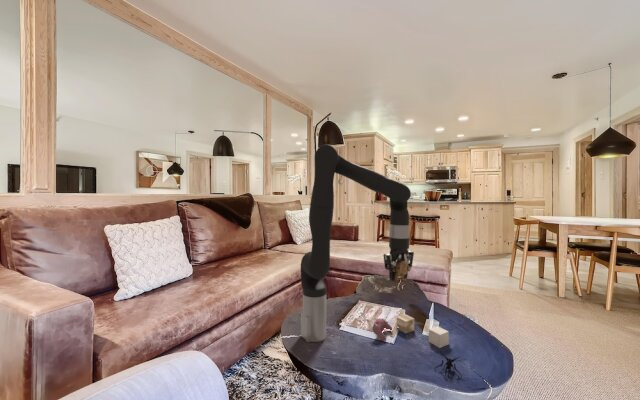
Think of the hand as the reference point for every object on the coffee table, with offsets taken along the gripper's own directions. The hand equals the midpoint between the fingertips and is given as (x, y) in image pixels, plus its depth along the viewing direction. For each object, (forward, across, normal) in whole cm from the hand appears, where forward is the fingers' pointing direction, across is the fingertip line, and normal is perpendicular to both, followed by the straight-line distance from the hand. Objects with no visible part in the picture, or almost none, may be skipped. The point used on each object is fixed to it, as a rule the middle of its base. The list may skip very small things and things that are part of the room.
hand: (398, 279), depth 112 cm
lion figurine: (+1, +1, +1) cm, 2 cm away
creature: (+24, -1, -24) cm, 34 cm away
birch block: (+24, +8, +4) cm, 25 cm away
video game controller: (+24, -3, +5) cm, 24 cm away
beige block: (+24, +11, -10) cm, 28 cm away
